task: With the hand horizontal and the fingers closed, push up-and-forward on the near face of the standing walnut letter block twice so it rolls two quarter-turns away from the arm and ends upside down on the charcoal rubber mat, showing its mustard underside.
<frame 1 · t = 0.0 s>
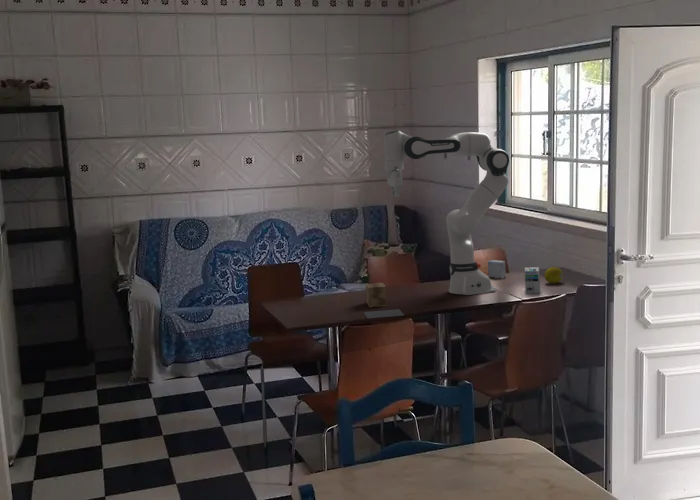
hand: (395, 196, 364), 48 cm above the table, tool pointing down, fingers open, 8 cm apart
charcoal mat: (383, 313, 338), on the table
medicine box: (497, 278, 404), on the table
letter block: (376, 304, 358), on the table
lemon: (554, 283, 381), on the table
light bulb box: (532, 292, 366), on the table
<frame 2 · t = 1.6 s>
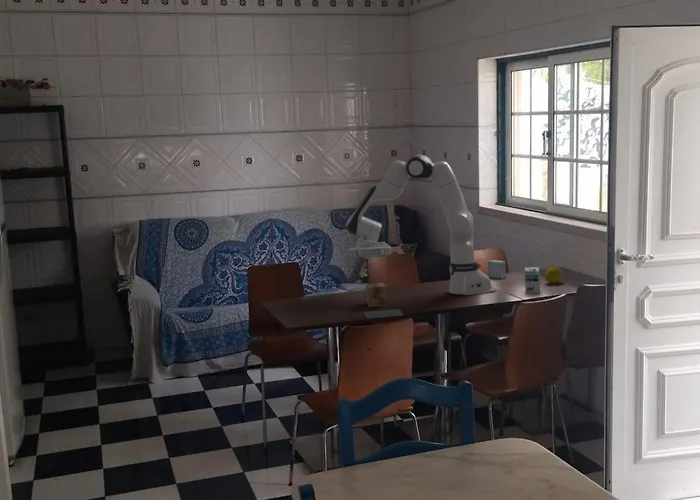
hand: (371, 253, 361), 22 cm above the table, tool horizontal, fingers open, 7 cm apart
nothing on the table moved.
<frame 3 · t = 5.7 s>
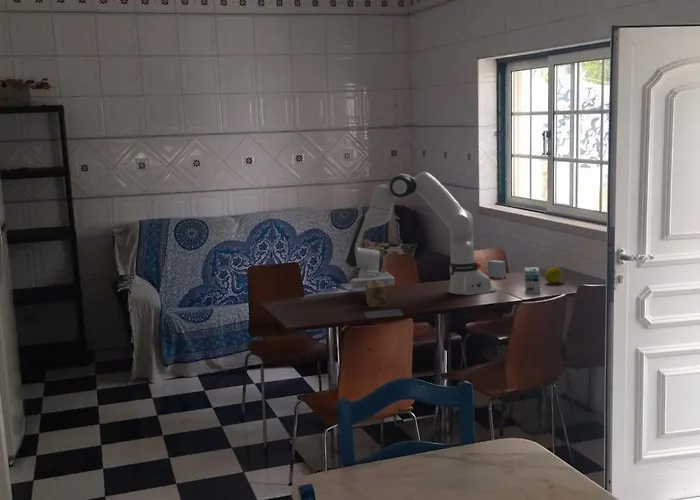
hand: (374, 284, 360), 8 cm above the table, tool horizontal, fingers closed, pressing on letter block
letter block: (376, 303, 358), on the table, tilted 5°, touching gripper
everything else where it was.
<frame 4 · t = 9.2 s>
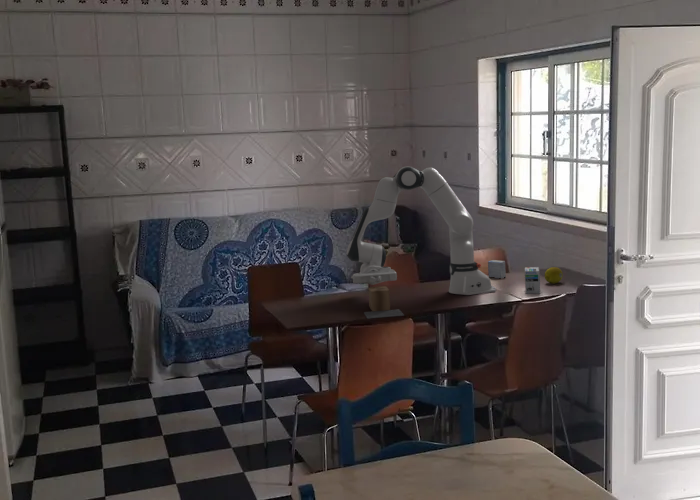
hand: (376, 280, 351), 12 cm above the table, tool horizontal, fingers closed
letter block: (377, 296, 352), point 4 cm above the table, tilted 90°
everything else where it was.
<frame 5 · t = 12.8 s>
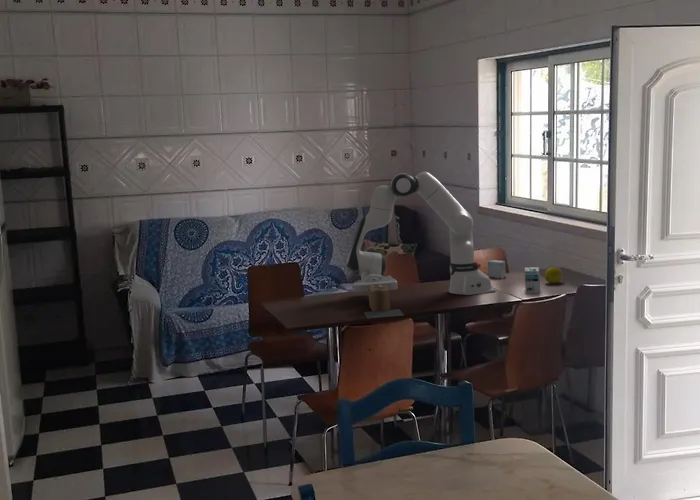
hand: (377, 289, 352), 8 cm above the table, tool horizontal, fingers closed, pressing on letter block
letter block: (377, 296, 352), point 5 cm above the table, tilted 92°, touching gripper
everything else where it was.
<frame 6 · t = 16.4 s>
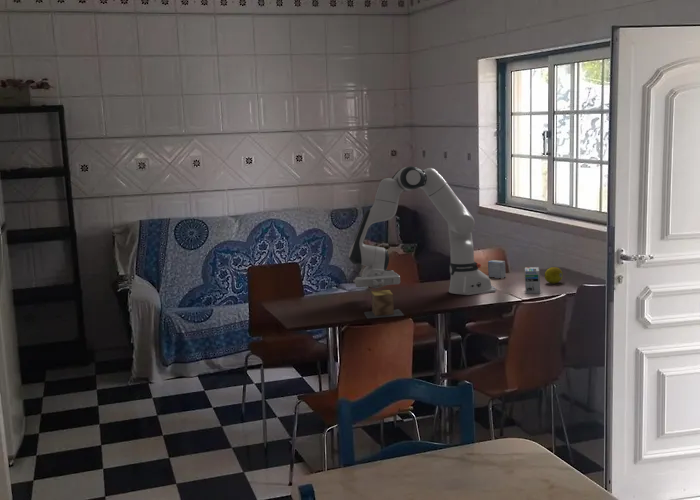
hand: (380, 283, 342), 12 cm above the table, tool horizontal, fingers closed
letter block: (381, 292, 339), point 9 cm above the table, tilted 180°, touching charcoal mat
everything else where it was.
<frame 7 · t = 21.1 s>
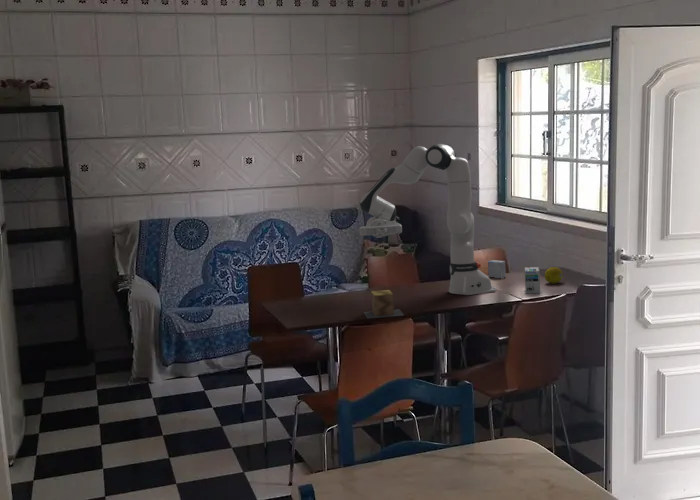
hand: (382, 231, 363), 32 cm above the table, tool horizontal, fingers closed
nothing on the table moved.
at the end: letter block tilted 180°; letter block inside the target area (1.5 cm from its centre), point 9.1 cm above the table; the gripper is holding nothing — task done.
